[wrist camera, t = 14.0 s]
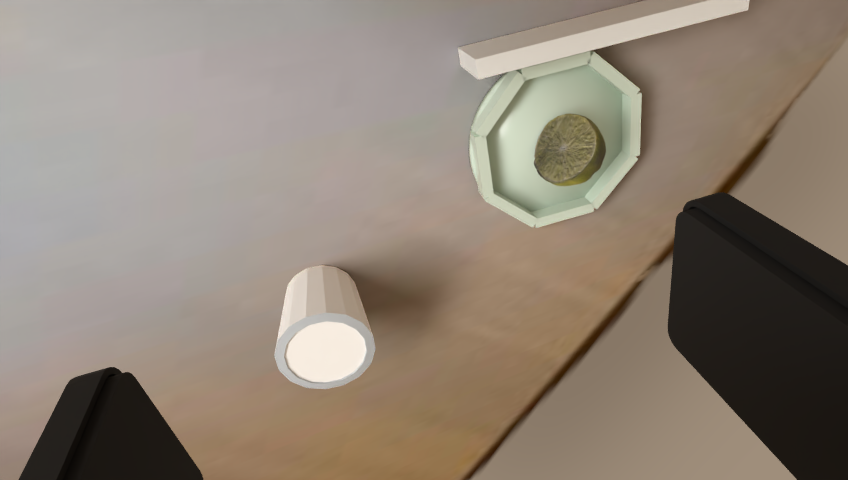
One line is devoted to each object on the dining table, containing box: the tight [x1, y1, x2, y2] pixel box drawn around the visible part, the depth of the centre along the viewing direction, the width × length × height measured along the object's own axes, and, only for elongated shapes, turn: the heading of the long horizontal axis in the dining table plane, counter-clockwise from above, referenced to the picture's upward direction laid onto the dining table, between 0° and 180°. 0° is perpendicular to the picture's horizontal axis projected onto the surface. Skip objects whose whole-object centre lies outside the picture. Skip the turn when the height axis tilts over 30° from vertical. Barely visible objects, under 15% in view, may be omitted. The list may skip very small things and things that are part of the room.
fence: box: [458, 0, 749, 79], centre depth 34 cm, size 1×18×4 cm, turn 101°
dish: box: [469, 51, 642, 228], centre depth 39 cm, size 13×13×2 cm
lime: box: [534, 114, 606, 186], centre depth 37 cm, size 4×5×5 cm
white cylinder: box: [275, 265, 375, 389], centre depth 39 cm, size 7×7×7 cm
